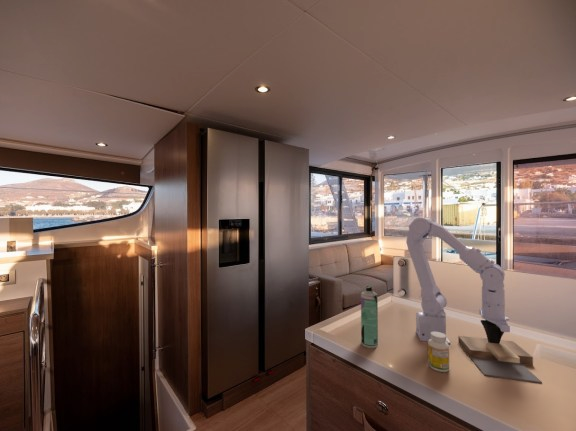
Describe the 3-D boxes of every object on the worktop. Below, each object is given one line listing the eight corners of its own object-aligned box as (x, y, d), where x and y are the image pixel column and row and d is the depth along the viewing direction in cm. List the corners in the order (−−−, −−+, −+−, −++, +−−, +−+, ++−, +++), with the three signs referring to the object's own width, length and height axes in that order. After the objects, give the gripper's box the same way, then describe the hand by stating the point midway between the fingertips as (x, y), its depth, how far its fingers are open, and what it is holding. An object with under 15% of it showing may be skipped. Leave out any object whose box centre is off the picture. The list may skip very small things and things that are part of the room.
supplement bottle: (447, 375, 71) (447, 340, 71) (426, 367, 75) (425, 335, 75) (450, 366, 75) (450, 333, 75) (430, 360, 79) (430, 328, 79)
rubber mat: (484, 375, 71) (484, 374, 71) (470, 358, 80) (470, 357, 80) (541, 383, 67) (541, 381, 67) (521, 364, 76) (521, 363, 76)
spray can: (378, 342, 90) (378, 285, 90) (377, 349, 85) (376, 289, 85) (362, 339, 92) (362, 283, 93) (360, 346, 87) (359, 287, 88)
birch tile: (498, 360, 74) (498, 355, 74) (485, 346, 82) (485, 342, 82) (519, 363, 72) (519, 358, 72) (504, 348, 80) (504, 344, 80)
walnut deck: (470, 357, 80) (470, 349, 80) (458, 342, 89) (458, 335, 89) (532, 365, 76) (532, 357, 76) (513, 348, 85) (513, 341, 85)
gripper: (522, 311, 74) (522, 358, 74) (495, 296, 88) (496, 336, 88) (493, 309, 76) (494, 355, 76) (472, 295, 90) (472, 334, 90)
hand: (493, 345), depth 82 cm, fingers closed
